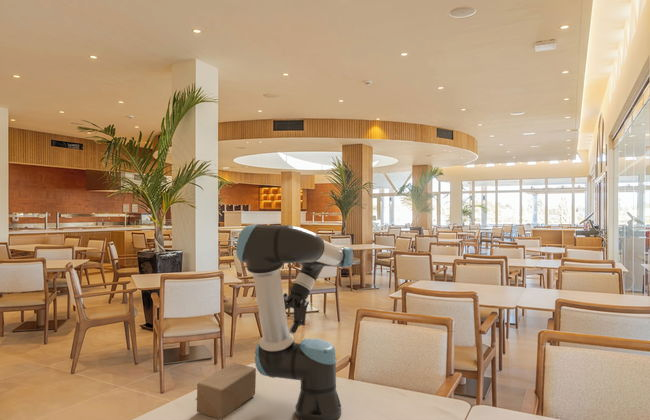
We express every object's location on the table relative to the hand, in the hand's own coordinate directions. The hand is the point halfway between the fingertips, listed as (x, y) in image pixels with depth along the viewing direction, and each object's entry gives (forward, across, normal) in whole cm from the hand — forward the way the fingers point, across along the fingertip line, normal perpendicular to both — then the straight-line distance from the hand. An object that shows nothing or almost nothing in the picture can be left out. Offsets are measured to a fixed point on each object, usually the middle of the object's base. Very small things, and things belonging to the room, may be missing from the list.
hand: (276, 335), depth 180 cm
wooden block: (+18, -1, +5) cm, 19 cm away
